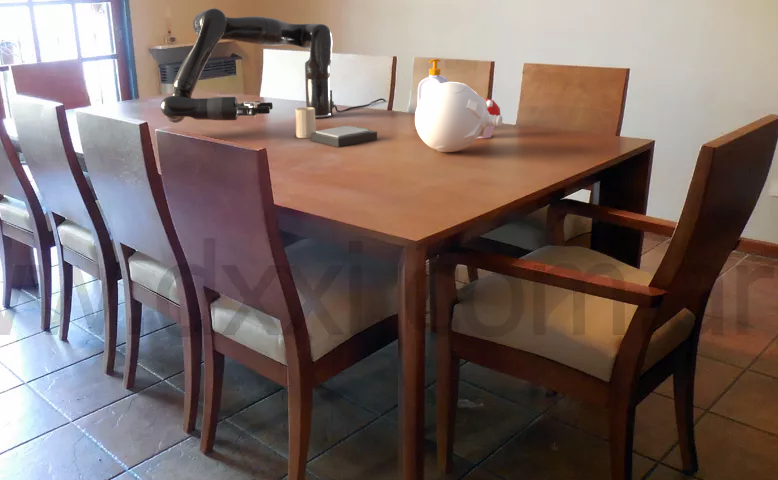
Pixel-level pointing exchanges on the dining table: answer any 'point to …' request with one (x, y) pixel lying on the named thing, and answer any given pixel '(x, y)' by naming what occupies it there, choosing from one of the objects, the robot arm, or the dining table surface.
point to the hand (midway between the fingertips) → (271, 107)
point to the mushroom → (492, 110)
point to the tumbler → (305, 122)
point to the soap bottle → (430, 80)
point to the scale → (343, 136)
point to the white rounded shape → (452, 117)
